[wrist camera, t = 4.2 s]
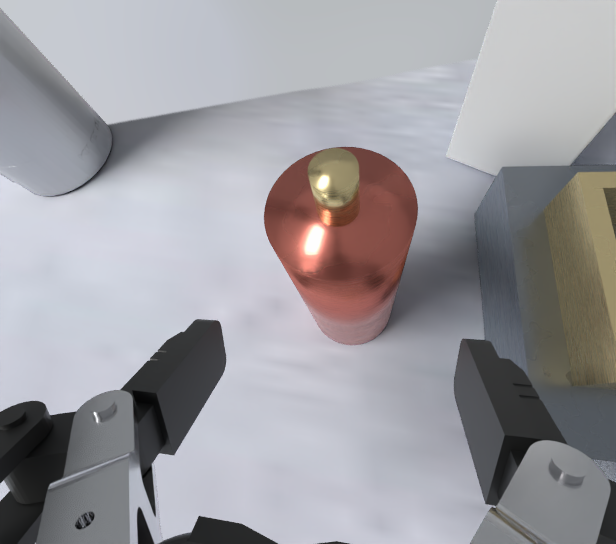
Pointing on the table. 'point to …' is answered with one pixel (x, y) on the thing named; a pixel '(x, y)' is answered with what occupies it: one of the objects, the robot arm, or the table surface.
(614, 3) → the milk carton
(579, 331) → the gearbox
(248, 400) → the table surface
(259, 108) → the table surface
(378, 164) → the red bottle
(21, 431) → the robot arm
